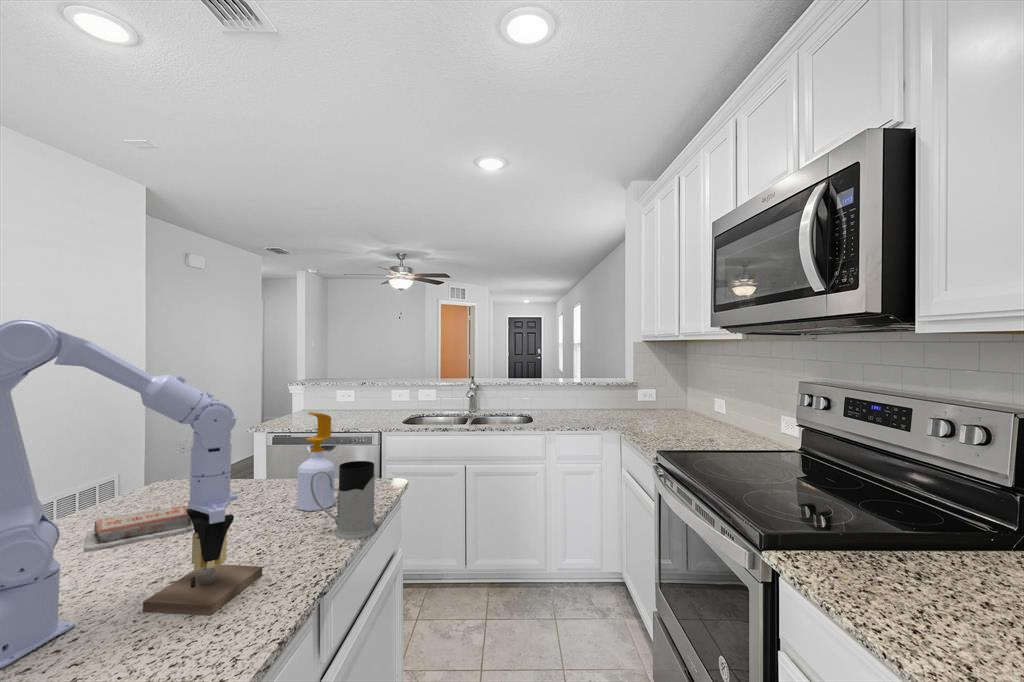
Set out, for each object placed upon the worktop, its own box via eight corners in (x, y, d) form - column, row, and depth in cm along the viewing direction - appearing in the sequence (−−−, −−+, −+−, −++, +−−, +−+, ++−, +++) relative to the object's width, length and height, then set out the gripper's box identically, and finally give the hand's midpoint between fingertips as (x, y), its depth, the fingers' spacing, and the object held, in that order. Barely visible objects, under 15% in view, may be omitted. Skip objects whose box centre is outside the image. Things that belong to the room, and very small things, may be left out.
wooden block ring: (228, 563, 78) (229, 533, 78) (194, 572, 75) (195, 540, 75) (222, 553, 82) (223, 525, 82) (190, 561, 79) (191, 531, 79)
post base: (210, 615, 71) (211, 581, 71) (142, 611, 72) (143, 578, 72) (262, 575, 84) (262, 546, 84) (204, 572, 85) (204, 544, 85)
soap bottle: (288, 509, 119) (291, 413, 120) (313, 499, 128) (315, 409, 128) (317, 513, 116) (320, 414, 117) (341, 502, 125) (343, 410, 126)
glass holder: (372, 538, 101) (374, 468, 102) (303, 541, 99) (305, 470, 100) (378, 523, 110) (379, 459, 110) (314, 526, 108) (316, 461, 108)
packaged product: (188, 500, 112) (193, 511, 104) (187, 521, 111) (193, 533, 104) (86, 516, 100) (84, 530, 92) (85, 539, 100) (83, 555, 92)
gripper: (247, 477, 76) (245, 562, 75) (229, 461, 87) (227, 535, 86) (195, 485, 71) (192, 575, 71) (183, 467, 82) (180, 545, 82)
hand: (208, 554), depth 78 cm, fingers closed on wooden block ring, 5 cm apart
